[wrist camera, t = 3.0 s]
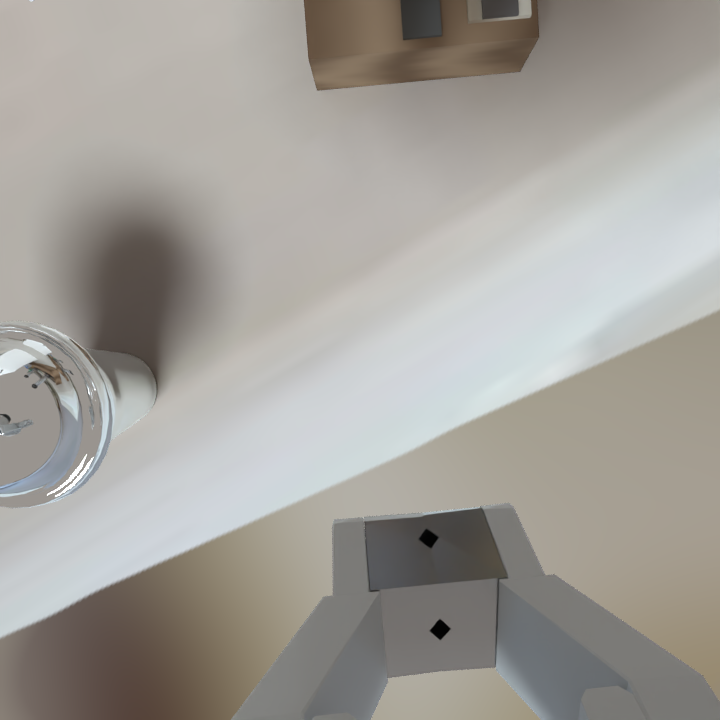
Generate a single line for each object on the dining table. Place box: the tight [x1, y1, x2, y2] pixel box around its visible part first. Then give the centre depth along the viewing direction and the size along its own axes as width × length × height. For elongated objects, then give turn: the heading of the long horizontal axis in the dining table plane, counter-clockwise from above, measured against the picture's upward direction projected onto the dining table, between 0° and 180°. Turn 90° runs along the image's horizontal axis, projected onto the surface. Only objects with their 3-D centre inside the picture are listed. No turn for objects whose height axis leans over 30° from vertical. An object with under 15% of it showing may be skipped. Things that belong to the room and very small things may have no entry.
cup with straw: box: [0, 321, 157, 508], centre depth 25 cm, size 8×9×20 cm
